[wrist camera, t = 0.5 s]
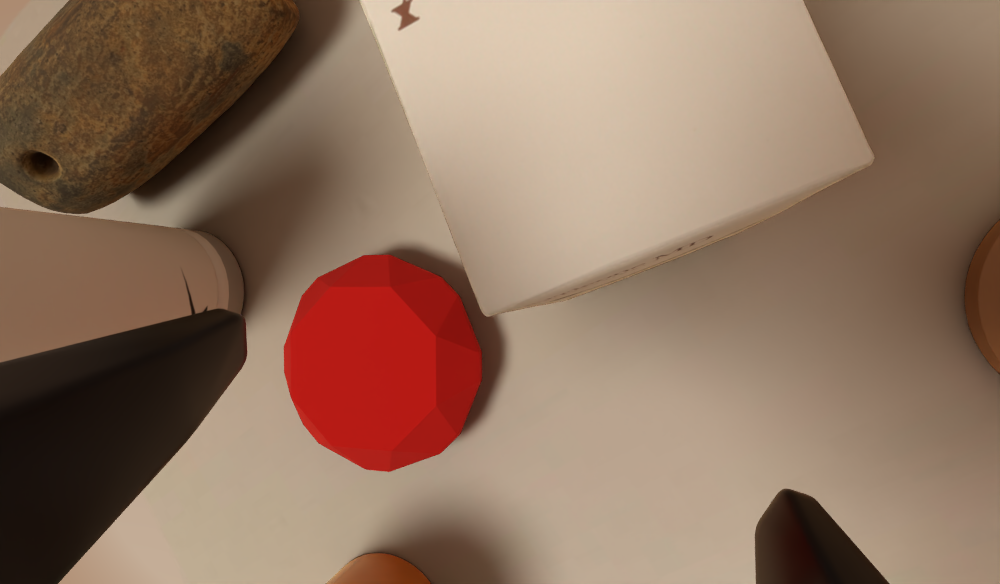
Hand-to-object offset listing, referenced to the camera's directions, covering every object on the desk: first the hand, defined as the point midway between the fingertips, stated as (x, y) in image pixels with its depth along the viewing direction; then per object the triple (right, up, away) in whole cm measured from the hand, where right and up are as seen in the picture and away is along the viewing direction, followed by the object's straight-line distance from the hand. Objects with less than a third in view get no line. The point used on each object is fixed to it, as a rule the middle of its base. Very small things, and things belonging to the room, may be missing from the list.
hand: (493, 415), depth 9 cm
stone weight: (-15, +12, +19) cm, 27 cm away
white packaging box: (+5, +6, +13) cm, 15 cm away
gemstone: (-5, -1, +16) cm, 17 cm away
